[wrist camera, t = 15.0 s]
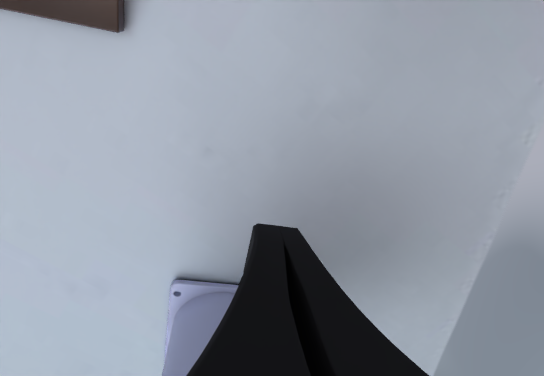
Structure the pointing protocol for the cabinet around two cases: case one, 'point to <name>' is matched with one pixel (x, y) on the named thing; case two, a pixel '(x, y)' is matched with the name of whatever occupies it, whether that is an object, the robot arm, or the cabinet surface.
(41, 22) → the cabinet surface
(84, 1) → the brown wooden tray
